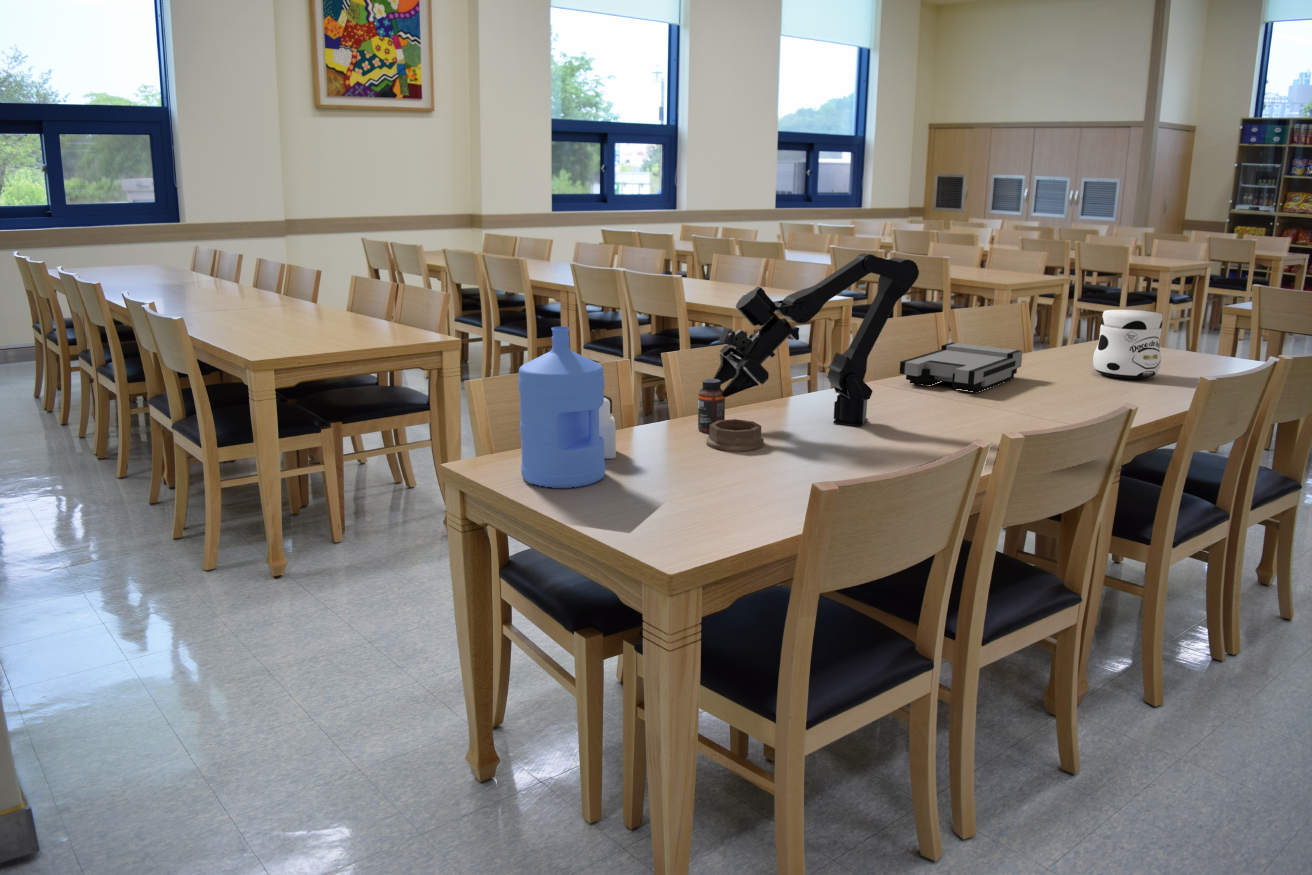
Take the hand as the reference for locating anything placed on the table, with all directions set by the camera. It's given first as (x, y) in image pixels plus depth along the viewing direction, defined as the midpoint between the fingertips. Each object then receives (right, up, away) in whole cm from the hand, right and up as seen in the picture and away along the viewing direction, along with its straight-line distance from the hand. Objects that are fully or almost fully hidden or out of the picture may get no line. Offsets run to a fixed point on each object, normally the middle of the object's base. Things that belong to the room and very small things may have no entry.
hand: (716, 391), depth 213 cm
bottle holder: (+3, -11, -9) cm, 15 cm away
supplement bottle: (-1, -9, +2) cm, 9 cm away
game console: (+70, +5, +54) cm, 89 cm away
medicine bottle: (-25, -14, -17) cm, 33 cm away
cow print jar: (+120, +7, +63) cm, 136 cm away
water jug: (-31, -18, -32) cm, 48 cm away
